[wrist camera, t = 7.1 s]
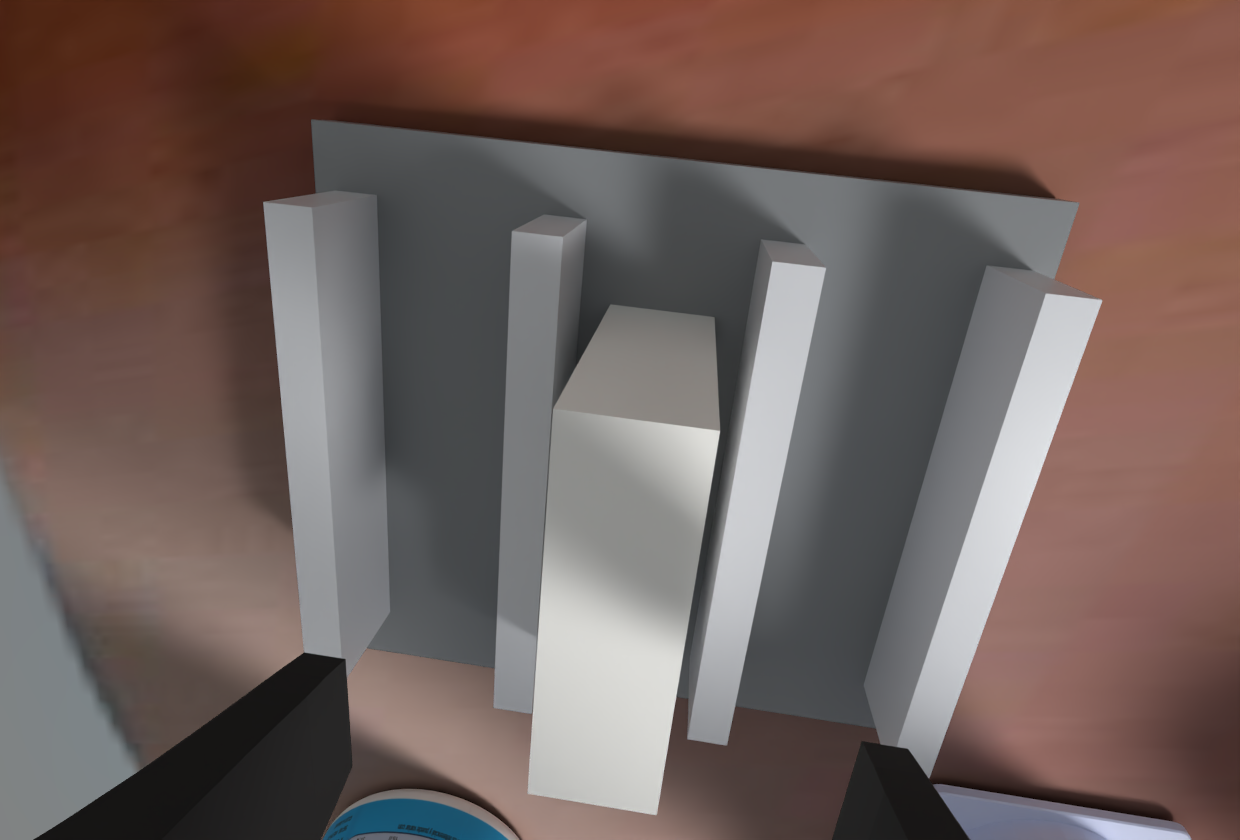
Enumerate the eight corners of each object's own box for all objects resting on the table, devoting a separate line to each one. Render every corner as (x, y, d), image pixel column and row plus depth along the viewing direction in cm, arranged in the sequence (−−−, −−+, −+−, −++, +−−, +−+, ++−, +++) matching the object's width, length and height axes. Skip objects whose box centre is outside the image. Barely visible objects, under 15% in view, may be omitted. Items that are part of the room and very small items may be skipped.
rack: (895, 707, 22) (933, 824, 18) (358, 624, 23) (292, 718, 19) (1058, 199, 16) (1162, 219, 12) (332, 120, 17) (230, 117, 14)
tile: (672, 594, 20) (656, 815, 14) (584, 582, 20) (527, 793, 14) (714, 317, 17) (719, 430, 11) (610, 304, 17) (553, 408, 11)
